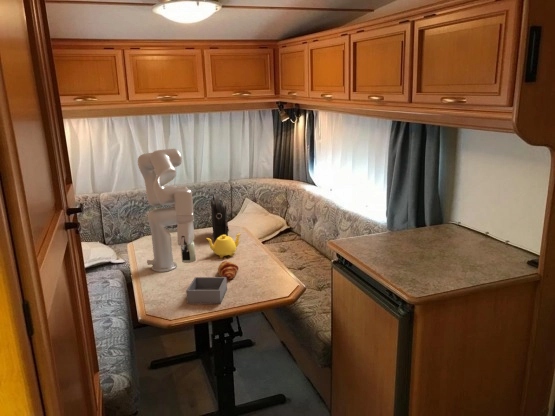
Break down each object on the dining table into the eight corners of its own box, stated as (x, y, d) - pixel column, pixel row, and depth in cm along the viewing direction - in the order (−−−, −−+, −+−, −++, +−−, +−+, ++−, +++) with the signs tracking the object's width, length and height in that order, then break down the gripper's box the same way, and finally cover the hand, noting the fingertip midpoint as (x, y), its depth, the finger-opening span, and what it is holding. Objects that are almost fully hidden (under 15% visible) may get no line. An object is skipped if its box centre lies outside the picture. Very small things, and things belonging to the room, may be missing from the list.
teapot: (238, 247, 267) (236, 228, 264) (245, 255, 253) (244, 235, 250) (204, 252, 260) (202, 233, 257) (210, 261, 246) (208, 241, 244)
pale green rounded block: (180, 262, 199) (178, 245, 197) (184, 258, 205) (182, 241, 203) (193, 262, 199) (192, 245, 197) (197, 258, 204) (195, 241, 203)
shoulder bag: (210, 232, 297) (207, 190, 290) (224, 231, 299) (221, 189, 292) (215, 243, 276) (212, 198, 269) (230, 241, 278) (227, 196, 271)
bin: (187, 303, 198) (186, 290, 196) (196, 289, 212) (194, 277, 210) (220, 303, 196) (219, 290, 195) (227, 289, 211) (226, 277, 209)
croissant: (222, 272, 239) (213, 260, 237) (238, 262, 240) (230, 250, 238) (224, 288, 219) (215, 275, 217) (242, 277, 219) (233, 264, 217)
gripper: (182, 212, 206) (186, 251, 210) (170, 223, 189) (174, 264, 194) (199, 212, 205) (202, 250, 209) (187, 223, 189) (191, 264, 193)
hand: (188, 257), depth 201 cm, fingers closed on pale green rounded block, 6 cm apart
